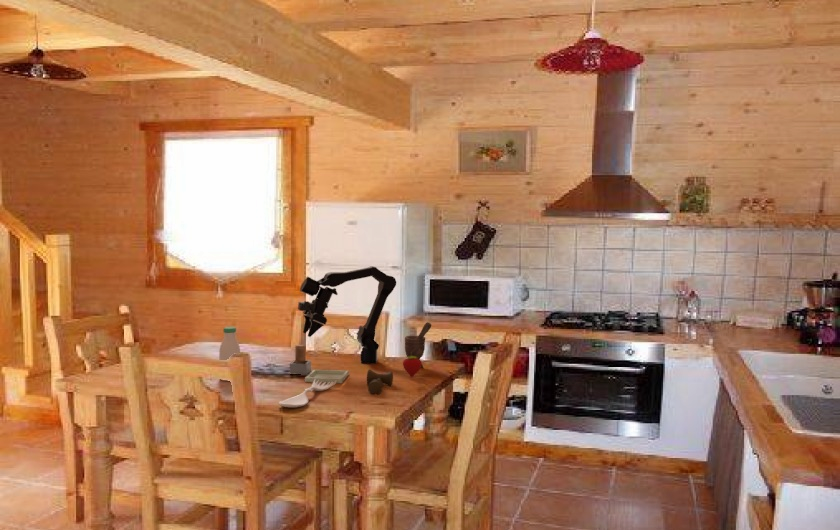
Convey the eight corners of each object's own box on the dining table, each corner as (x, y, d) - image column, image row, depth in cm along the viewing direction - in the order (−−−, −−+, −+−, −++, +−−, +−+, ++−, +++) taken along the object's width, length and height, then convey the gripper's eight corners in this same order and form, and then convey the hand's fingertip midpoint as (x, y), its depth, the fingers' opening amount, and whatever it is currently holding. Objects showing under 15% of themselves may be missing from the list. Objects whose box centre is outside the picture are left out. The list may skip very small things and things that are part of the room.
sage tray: (348, 376, 258) (348, 370, 258) (341, 385, 244) (341, 379, 244) (313, 374, 259) (314, 369, 259) (304, 383, 245) (304, 377, 245)
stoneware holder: (310, 372, 263) (311, 360, 262) (306, 376, 256) (306, 364, 256) (294, 372, 263) (294, 360, 263) (289, 376, 256) (289, 363, 256)
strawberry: (420, 379, 255) (421, 353, 254) (401, 378, 256) (402, 353, 255) (422, 375, 261) (422, 350, 260) (403, 374, 262) (403, 350, 261)
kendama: (361, 395, 232) (369, 380, 252) (387, 397, 231) (394, 382, 251) (361, 379, 231) (370, 365, 251) (388, 381, 230) (394, 367, 250)
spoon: (337, 388, 240) (337, 379, 239) (298, 413, 209) (298, 402, 209) (314, 386, 242) (315, 377, 242) (273, 410, 211) (273, 400, 211)
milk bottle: (241, 380, 248) (241, 328, 247) (220, 382, 245) (220, 329, 244) (239, 376, 255) (238, 325, 254) (218, 377, 252) (218, 326, 251)
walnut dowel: (306, 372, 261) (306, 344, 261) (304, 374, 257) (304, 346, 257) (296, 371, 262) (296, 344, 261) (294, 373, 258) (294, 346, 257)
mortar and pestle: (433, 366, 277) (434, 320, 276) (429, 371, 269) (430, 323, 267) (406, 365, 279) (407, 319, 278) (402, 369, 271) (403, 321, 270)
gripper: (300, 290, 280) (284, 324, 278) (309, 295, 262) (293, 331, 261) (323, 300, 284) (308, 333, 282) (334, 306, 267) (318, 341, 265)
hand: (306, 334), depth 273 cm, fingers open, 9 cm apart
